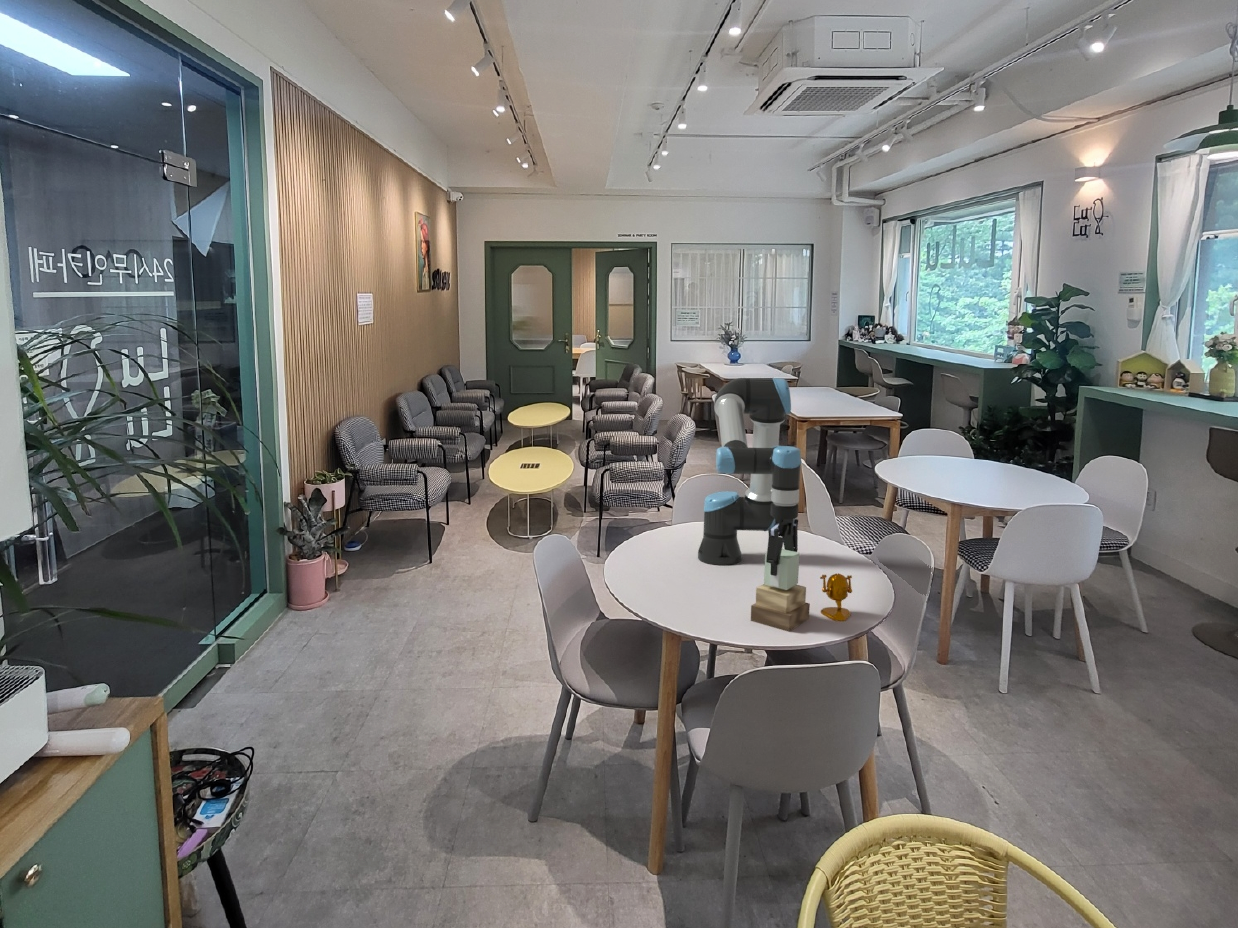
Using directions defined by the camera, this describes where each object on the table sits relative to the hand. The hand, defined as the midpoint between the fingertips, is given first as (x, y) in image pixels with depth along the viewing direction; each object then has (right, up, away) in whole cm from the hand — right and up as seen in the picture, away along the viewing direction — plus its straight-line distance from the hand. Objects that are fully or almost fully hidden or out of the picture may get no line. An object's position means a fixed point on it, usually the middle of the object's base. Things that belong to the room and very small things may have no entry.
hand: (781, 581), depth 229 cm
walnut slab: (0, -12, +2) cm, 12 cm away
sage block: (0, -1, 0) cm, 1 cm away
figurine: (+17, -10, +6) cm, 21 cm away
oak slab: (0, -7, +2) cm, 7 cm away
